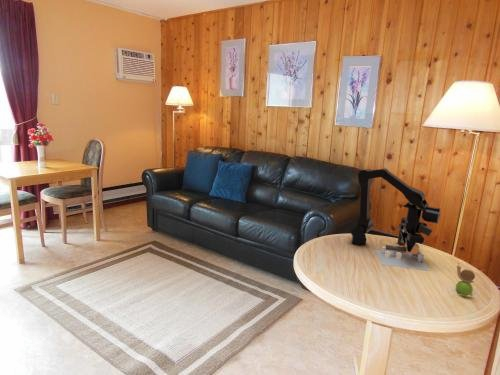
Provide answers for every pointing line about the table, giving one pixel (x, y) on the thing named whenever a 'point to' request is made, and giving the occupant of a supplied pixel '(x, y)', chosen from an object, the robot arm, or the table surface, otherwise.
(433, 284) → the table surface
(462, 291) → the snail figurine
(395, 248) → the plug
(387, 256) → the clips
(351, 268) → the table surface
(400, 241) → the deodorant
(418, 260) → the bracket
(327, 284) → the table surface
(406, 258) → the board
